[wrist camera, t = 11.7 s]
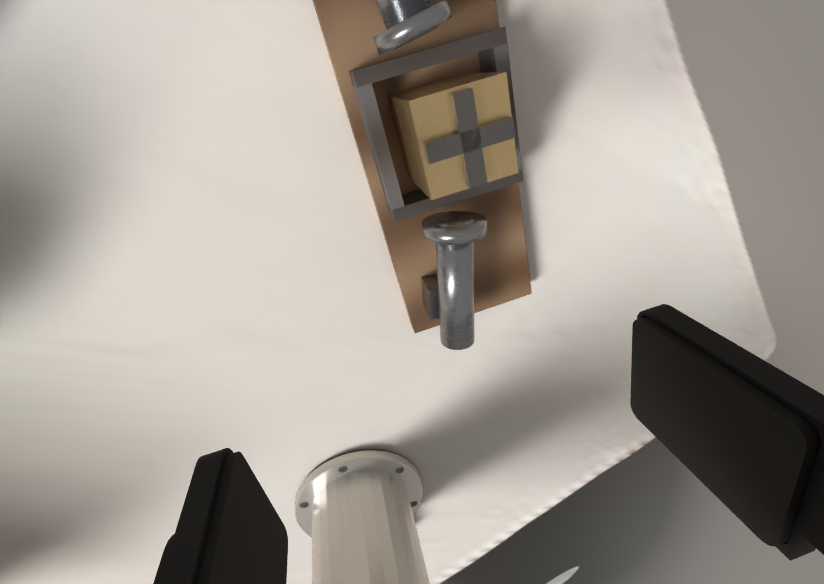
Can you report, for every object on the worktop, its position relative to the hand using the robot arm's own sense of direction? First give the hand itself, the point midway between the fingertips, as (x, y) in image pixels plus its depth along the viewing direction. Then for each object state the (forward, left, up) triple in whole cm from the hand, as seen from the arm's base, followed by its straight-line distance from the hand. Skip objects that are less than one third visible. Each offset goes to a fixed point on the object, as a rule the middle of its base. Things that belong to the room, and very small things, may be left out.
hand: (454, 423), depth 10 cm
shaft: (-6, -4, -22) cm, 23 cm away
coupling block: (+3, -6, -21) cm, 22 cm away
